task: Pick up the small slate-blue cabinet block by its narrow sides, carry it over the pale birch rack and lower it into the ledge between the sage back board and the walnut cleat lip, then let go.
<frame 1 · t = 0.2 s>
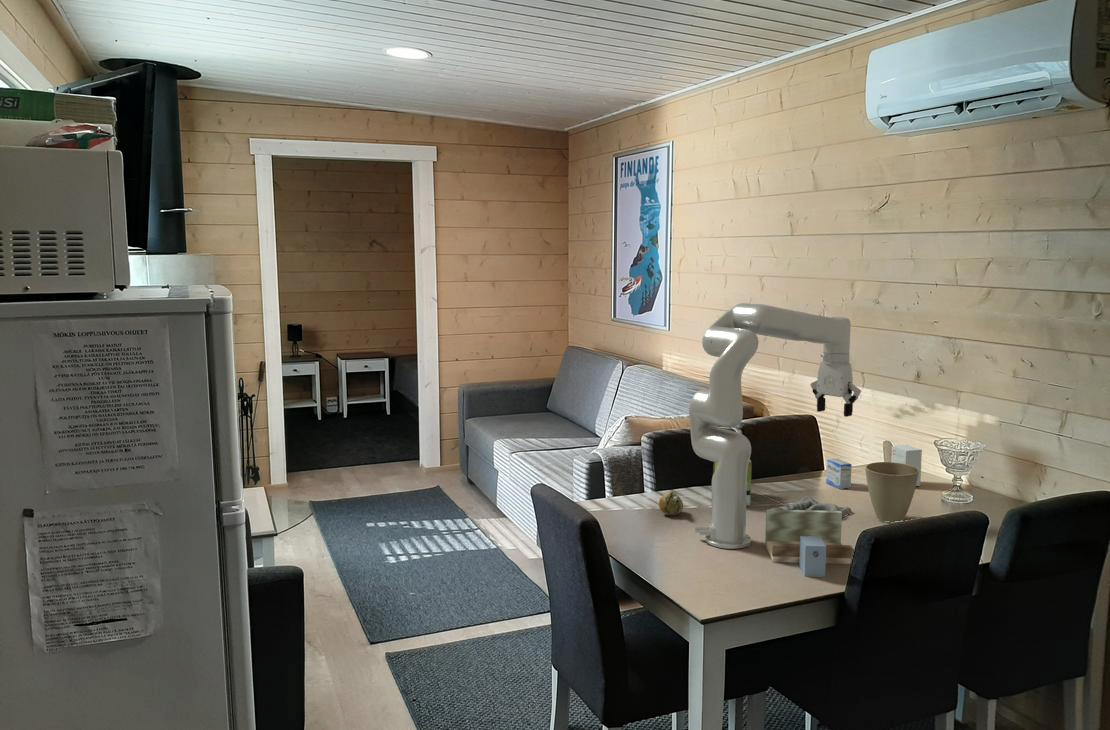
hand: (834, 413, 252), 31 cm above the table, tool pointing down, fingers open, 9 cm apart
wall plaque: (813, 518, 252), on the table
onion: (671, 514, 256), on the table
tea box: (731, 499, 270), on the table
medicine box: (838, 486, 283), on the table
cabinet block: (812, 571, 210), on the table
plant pot: (889, 520, 248), on the table
cleat rack: (806, 553, 222), on the table
small box: (905, 484, 284), on the table
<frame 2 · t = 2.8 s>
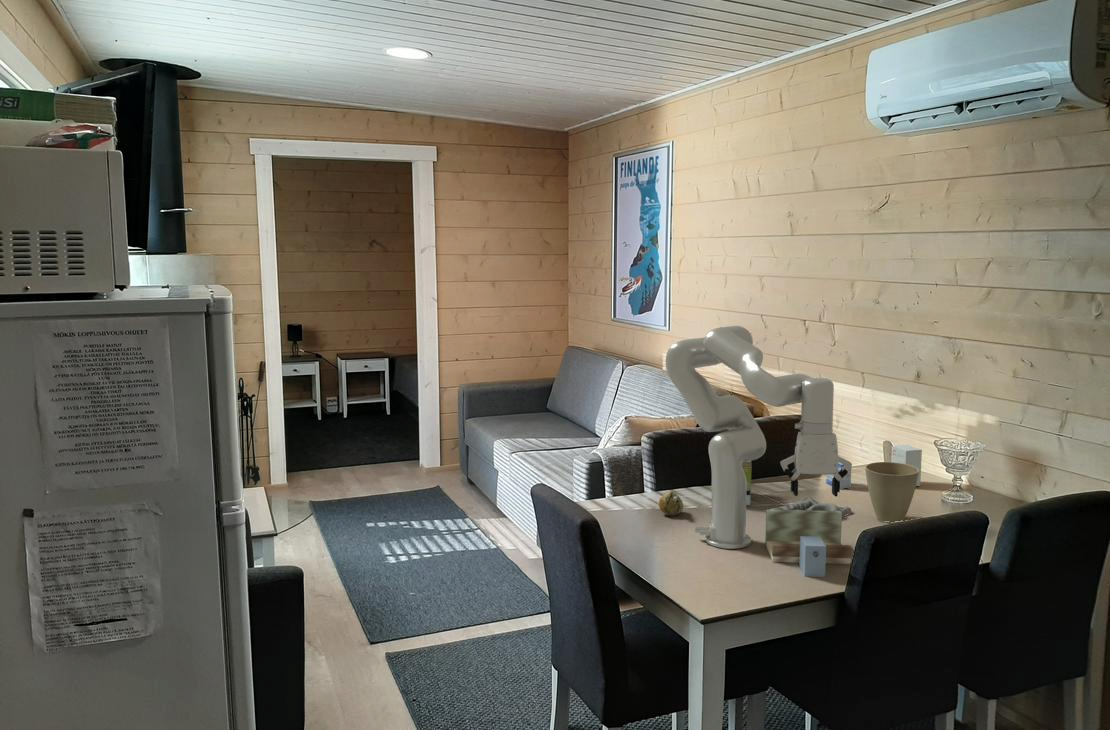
hand: (814, 494, 207), 20 cm above the table, tool pointing down, fingers open, 9 cm apart
nothing on the table moved.
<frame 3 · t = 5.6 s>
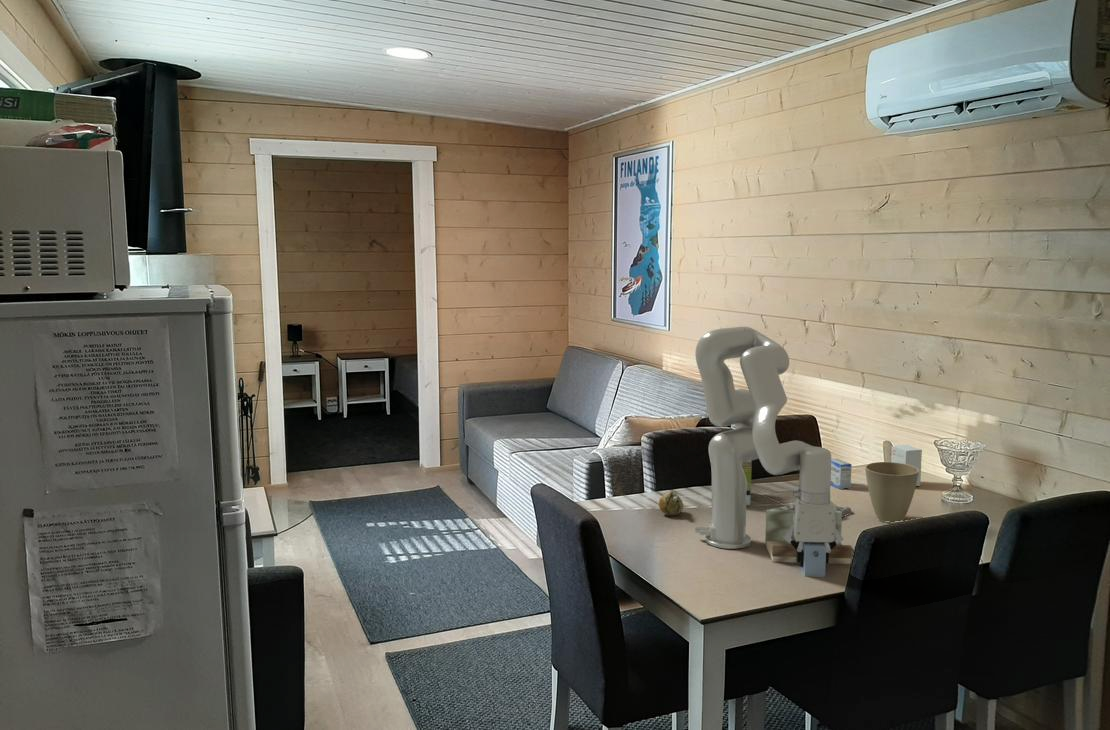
hand: (812, 564, 210), 2 cm above the table, tool pointing down, fingers closed on cabinet block, 5 cm apart
cabinet block: (812, 571, 210), on the table, touching gripper
everything else where it was.
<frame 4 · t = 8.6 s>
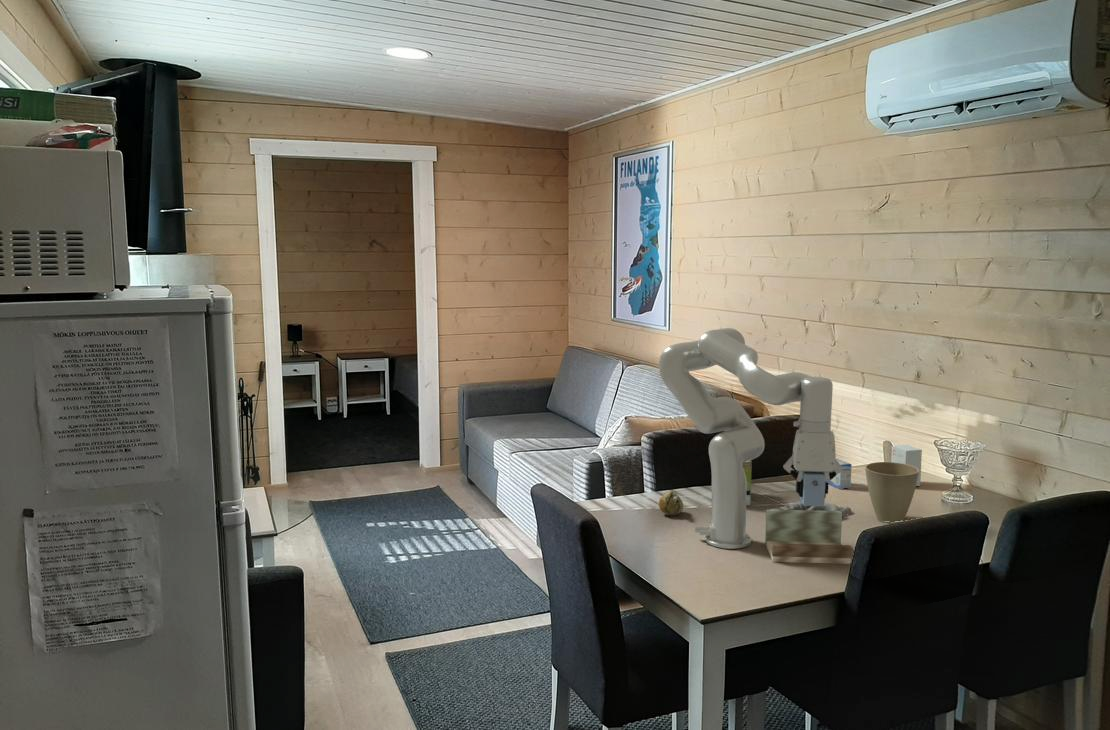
hand: (811, 495, 210), 19 cm above the table, tool pointing down, fingers closed on cabinet block, 5 cm apart
cabinet block: (811, 501, 210), point 17 cm above the table, touching gripper
everything else where it was.
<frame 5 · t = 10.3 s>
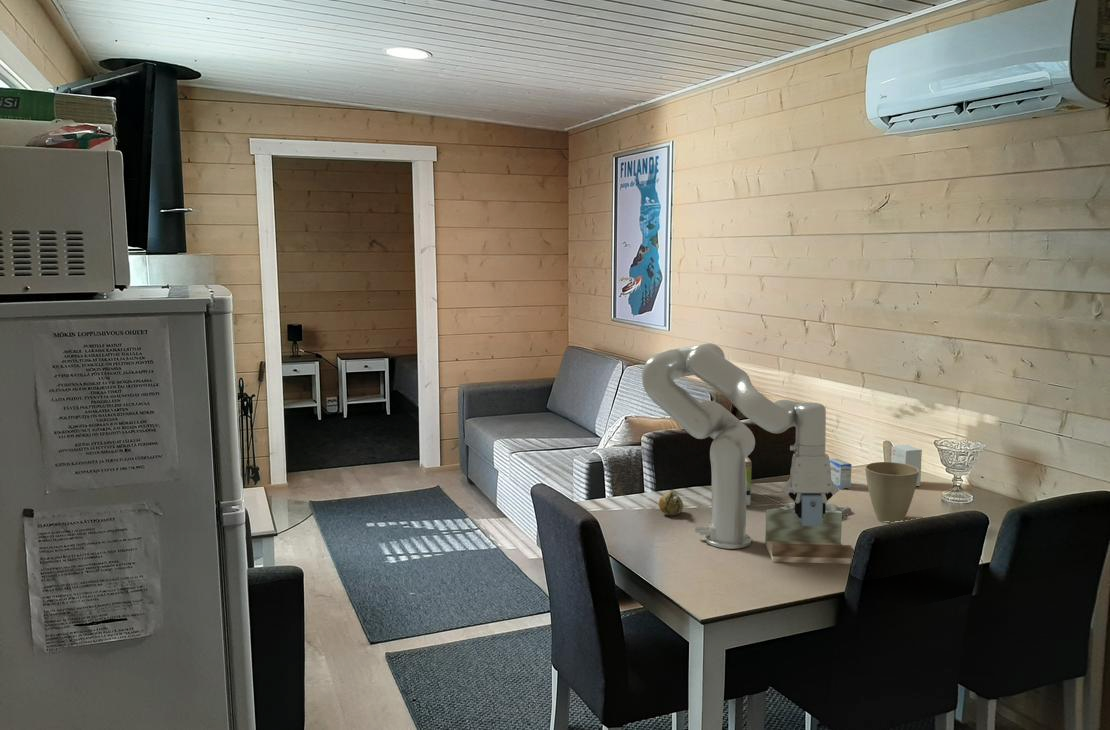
hand: (809, 515, 220), 11 cm above the table, tool pointing down, fingers closed on cabinet block, 5 cm apart
cabinet block: (809, 521, 220), point 9 cm above the table, touching gripper
everything else where it was.
when the fingers open (4 cm above the table, at t = 11.7 s): cabinet block drops 1 cm, resting on cleat rack.
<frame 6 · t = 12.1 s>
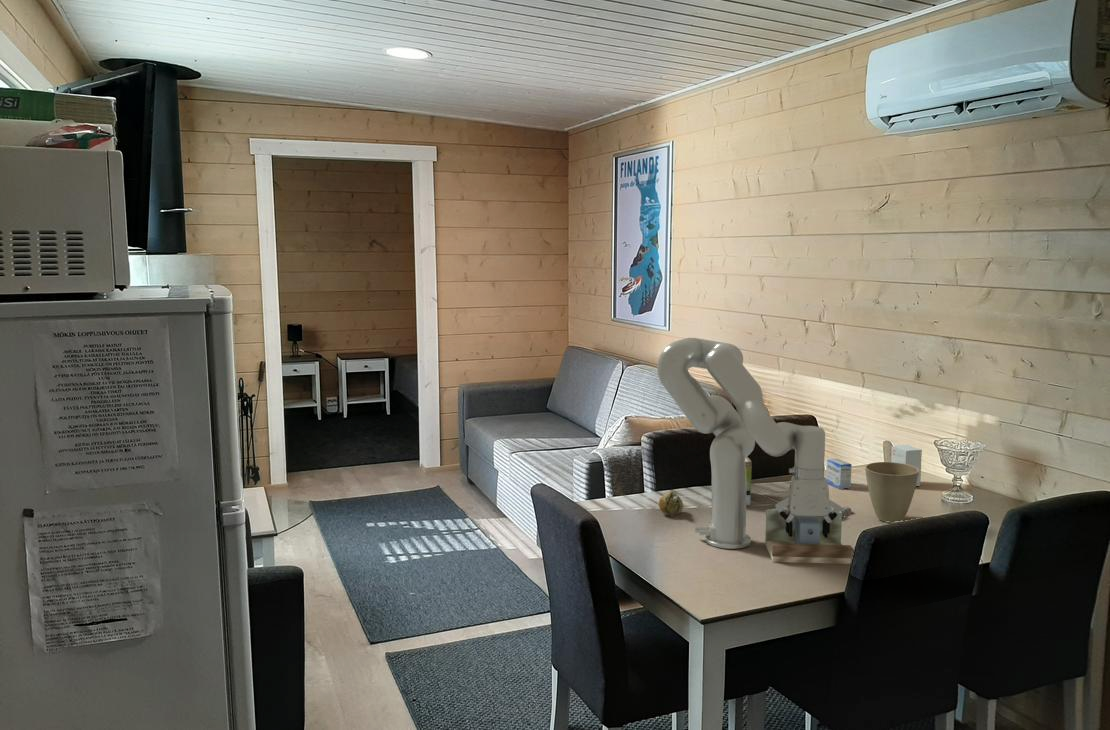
hand: (807, 535, 221), 5 cm above the table, tool pointing down, fingers open, 8 cm apart
cabinet block: (806, 548, 221), point 1 cm above the table, touching cleat rack
everything else where it was.
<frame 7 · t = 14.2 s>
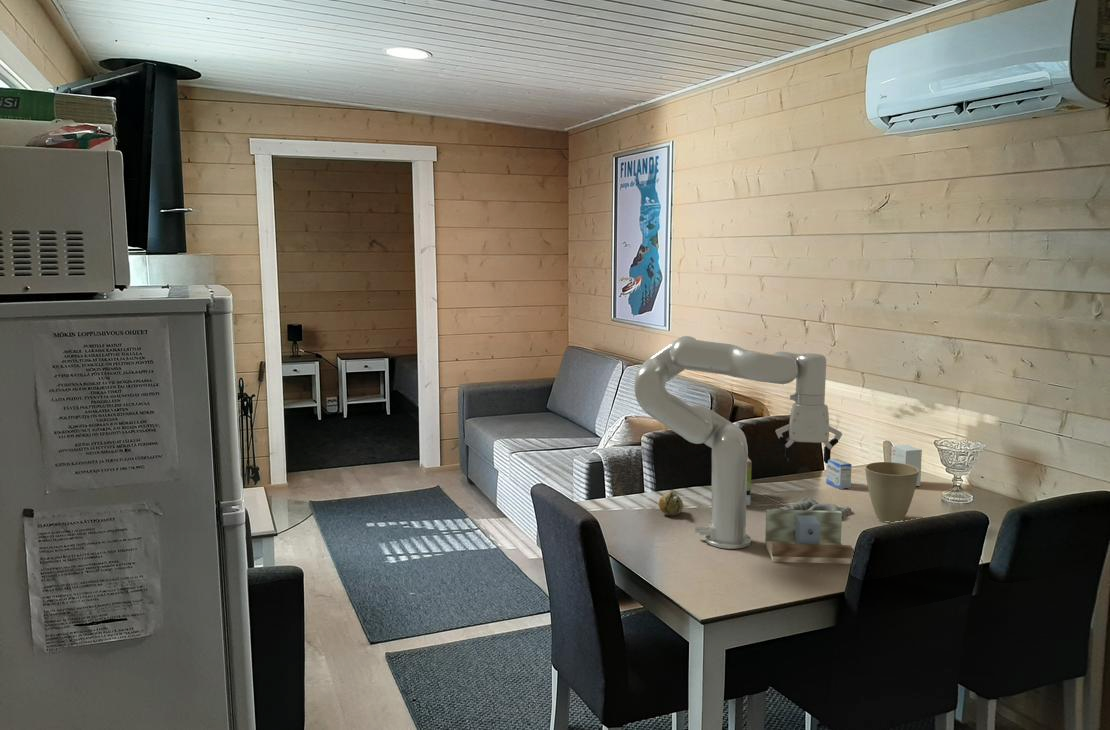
hand: (807, 461, 224), 24 cm above the table, tool pointing down, fingers open, 9 cm apart
nothing on the table moved.
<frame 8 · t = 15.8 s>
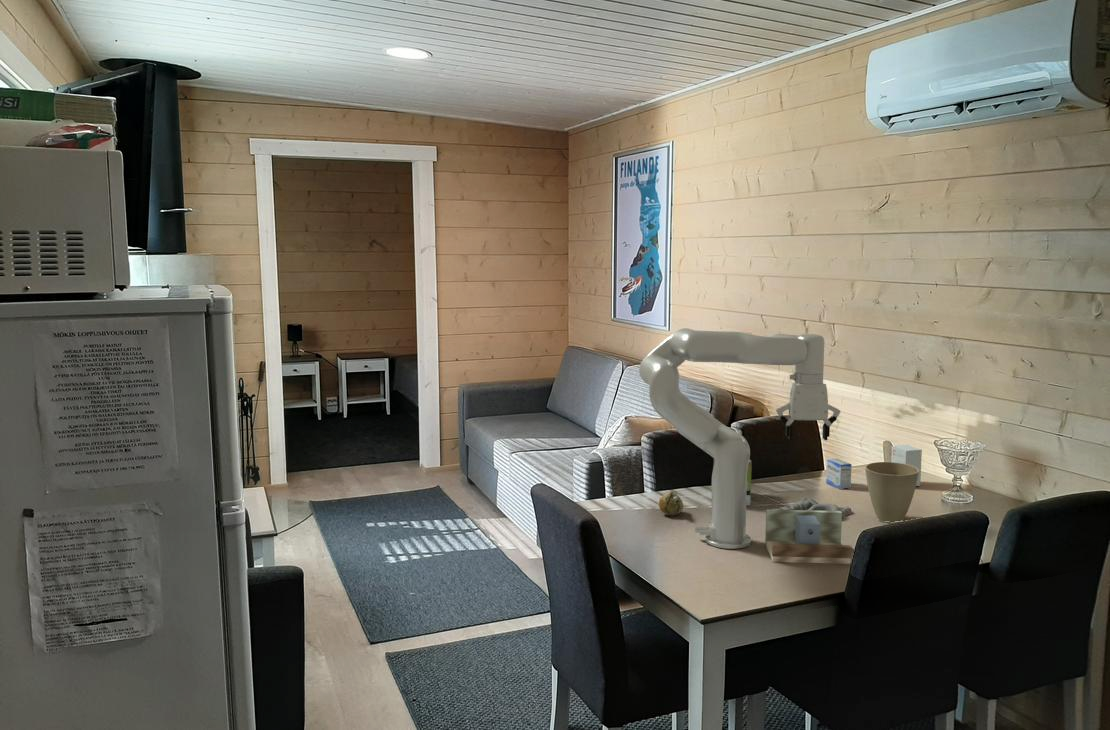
hand: (807, 439, 231), 28 cm above the table, tool pointing down, fingers open, 9 cm apart
nothing on the table moved.
at the end: cabinet block inside the target area on the cleat rack (0.0 cm from its centre), point 1.5 cm above the cleat rack's base; cabinet block tilted 0°; the gripper is holding nothing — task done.
